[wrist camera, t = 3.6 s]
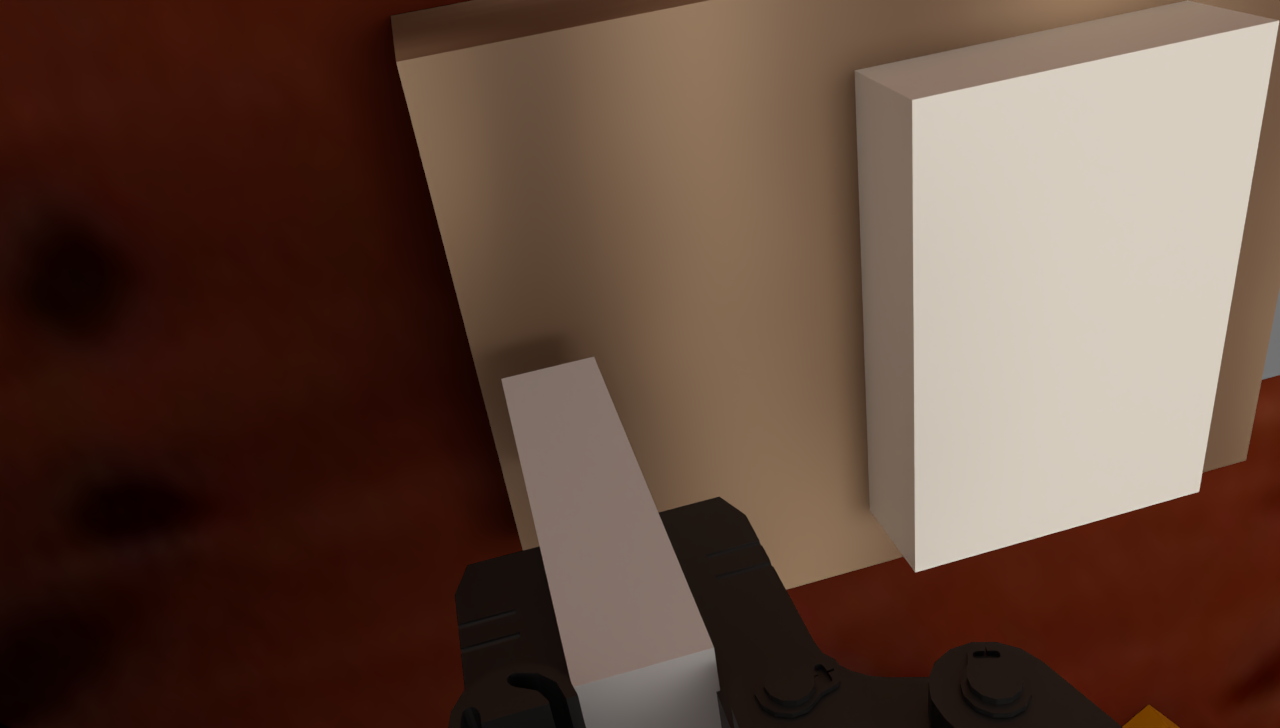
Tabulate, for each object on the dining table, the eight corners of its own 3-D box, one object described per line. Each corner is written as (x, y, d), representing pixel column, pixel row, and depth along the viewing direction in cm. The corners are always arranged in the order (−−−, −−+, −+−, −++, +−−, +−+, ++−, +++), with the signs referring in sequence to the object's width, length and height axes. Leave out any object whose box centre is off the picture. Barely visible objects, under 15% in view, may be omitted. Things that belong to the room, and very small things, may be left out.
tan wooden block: (523, 536, 24) (550, 655, 20) (390, 15, 18) (395, 62, 15) (1130, 376, 26) (1245, 459, 23) (1191, -137, 20) (1360, -128, 17)
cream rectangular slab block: (869, 510, 21) (914, 572, 19) (854, 70, 16) (911, 99, 14) (1132, 438, 21) (1199, 491, 20) (1187, 0, 17) (1279, 20, 15)
